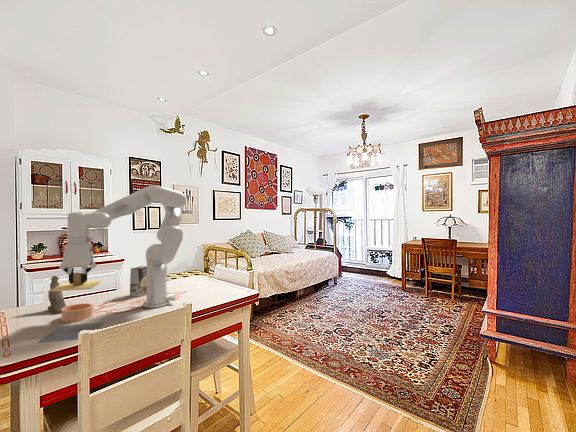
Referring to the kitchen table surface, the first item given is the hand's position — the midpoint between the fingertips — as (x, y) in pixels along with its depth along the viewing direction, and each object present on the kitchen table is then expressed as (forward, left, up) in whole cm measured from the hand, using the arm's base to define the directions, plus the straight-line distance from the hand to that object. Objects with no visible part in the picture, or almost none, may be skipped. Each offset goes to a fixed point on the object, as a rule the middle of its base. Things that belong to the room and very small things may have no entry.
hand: (78, 282), depth 121 cm
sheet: (0, 0, -2) cm, 2 cm away
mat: (-4, +13, -17) cm, 22 cm away
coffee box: (-15, -41, -17) cm, 47 cm away
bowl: (+2, -5, -17) cm, 18 cm away
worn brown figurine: (+16, -19, -17) cm, 30 cm away
